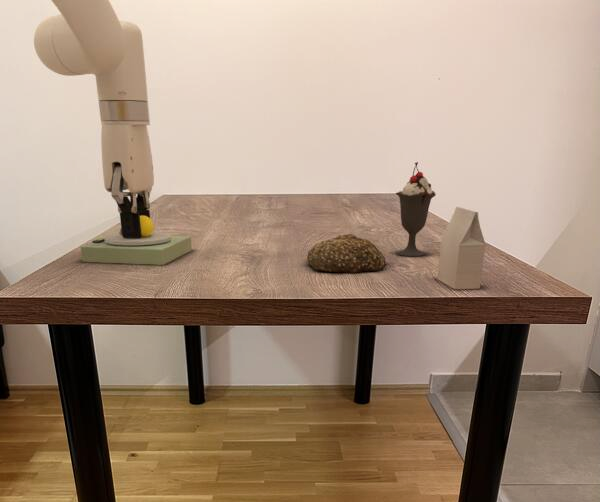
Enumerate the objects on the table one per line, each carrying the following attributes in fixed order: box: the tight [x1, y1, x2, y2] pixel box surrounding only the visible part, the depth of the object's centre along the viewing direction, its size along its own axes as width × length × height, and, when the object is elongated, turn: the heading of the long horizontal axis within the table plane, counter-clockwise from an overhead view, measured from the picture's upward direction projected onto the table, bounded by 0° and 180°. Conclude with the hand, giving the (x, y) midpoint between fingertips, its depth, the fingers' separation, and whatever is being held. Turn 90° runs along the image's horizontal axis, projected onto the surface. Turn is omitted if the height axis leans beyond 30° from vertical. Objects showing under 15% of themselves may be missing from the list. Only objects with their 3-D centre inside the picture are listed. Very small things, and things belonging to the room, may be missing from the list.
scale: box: [80, 231, 193, 266], centre depth 109 cm, size 14×14×3 cm
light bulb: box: [118, 215, 155, 237], centre depth 107 cm, size 3×6×4 cm, turn 90°
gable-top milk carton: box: [436, 206, 486, 290], centre depth 88 cm, size 4×7×10 cm, turn 9°
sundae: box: [395, 161, 437, 257], centre depth 109 cm, size 7×7×15 cm
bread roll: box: [306, 233, 387, 274], centre depth 101 cm, size 13×12×5 cm
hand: (137, 234), depth 108 cm, fingers closed on light bulb, 3 cm apart
